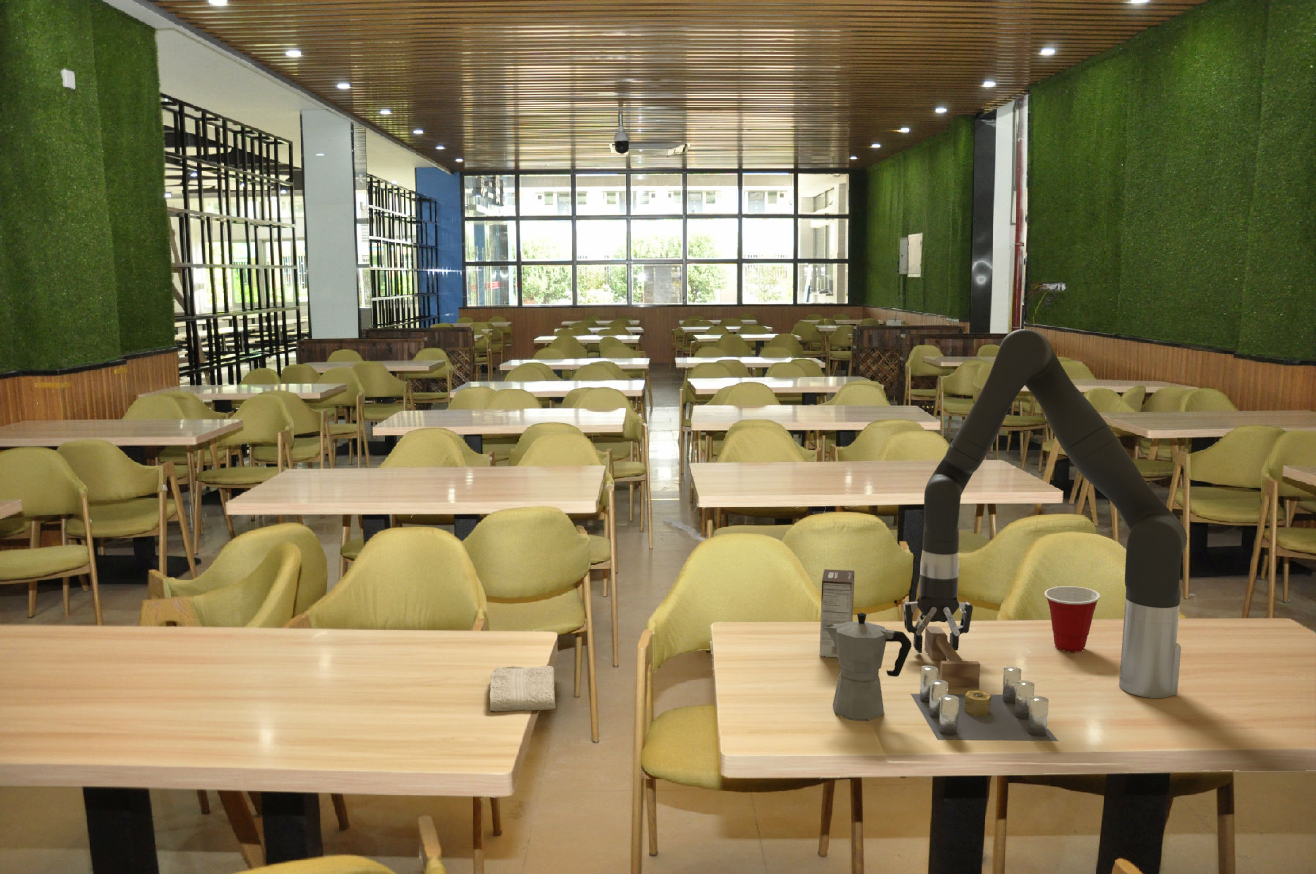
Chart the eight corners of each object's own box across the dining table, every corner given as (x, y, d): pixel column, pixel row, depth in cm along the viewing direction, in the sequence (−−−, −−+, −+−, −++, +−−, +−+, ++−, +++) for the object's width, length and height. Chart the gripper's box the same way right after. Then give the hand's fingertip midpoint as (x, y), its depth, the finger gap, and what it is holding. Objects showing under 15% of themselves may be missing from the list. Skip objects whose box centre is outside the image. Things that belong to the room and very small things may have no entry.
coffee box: (821, 642, 229) (823, 568, 227) (852, 644, 228) (854, 570, 225) (818, 656, 220) (821, 579, 218) (851, 659, 219) (853, 582, 217)
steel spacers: (1016, 697, 199) (1018, 666, 198) (1049, 736, 182) (1051, 702, 181) (917, 696, 199) (919, 665, 198) (941, 735, 182) (943, 701, 181)
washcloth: (554, 676, 210) (554, 661, 209) (557, 713, 192) (557, 696, 191) (491, 678, 208) (491, 663, 208) (489, 715, 190) (488, 699, 190)
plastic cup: (1030, 642, 230) (1033, 587, 229) (1072, 637, 234) (1076, 583, 232) (1063, 659, 220) (1067, 601, 218) (1107, 654, 223) (1111, 597, 222)
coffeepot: (814, 714, 191) (817, 615, 189) (829, 695, 200) (832, 601, 197) (902, 729, 185) (906, 627, 182) (913, 710, 193) (917, 612, 191)
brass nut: (987, 707, 194) (987, 690, 194) (993, 716, 190) (994, 699, 190) (961, 706, 194) (962, 690, 194) (967, 715, 190) (968, 699, 190)
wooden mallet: (948, 649, 225) (949, 626, 224) (978, 689, 203) (980, 664, 203) (914, 649, 225) (915, 626, 224) (941, 689, 203) (942, 663, 203)
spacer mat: (1019, 696, 200) (1019, 694, 200) (1058, 742, 180) (1058, 740, 180) (910, 695, 200) (910, 693, 200) (937, 741, 180) (937, 739, 180)
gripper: (969, 567, 223) (965, 646, 226) (899, 567, 223) (896, 645, 226) (980, 577, 216) (975, 658, 218) (907, 577, 216) (904, 658, 218)
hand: (935, 651), depth 222 cm, fingers open, 6 cm apart
